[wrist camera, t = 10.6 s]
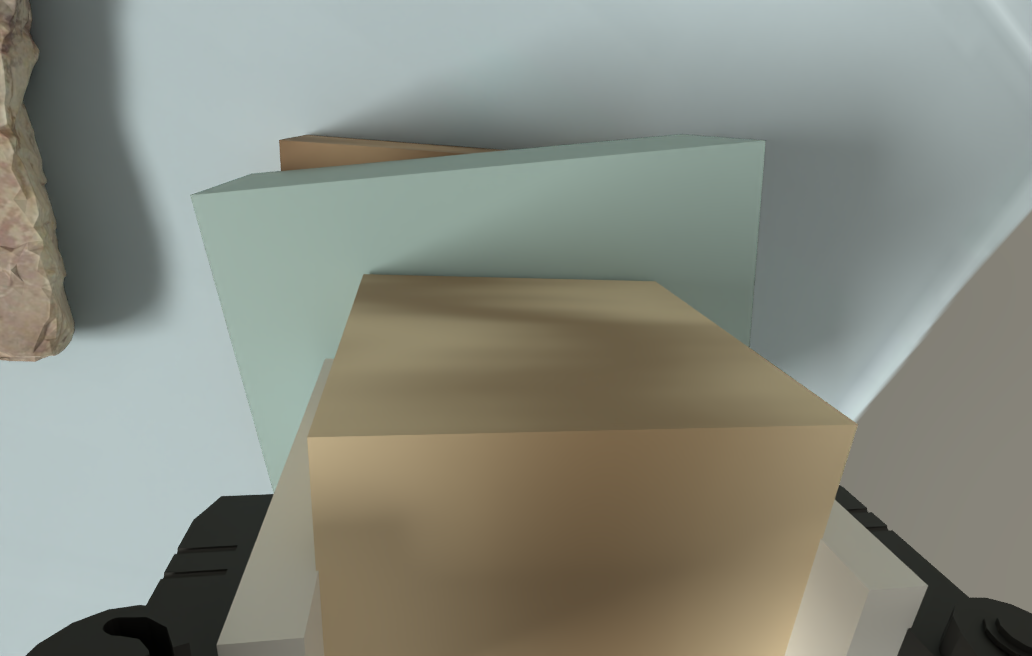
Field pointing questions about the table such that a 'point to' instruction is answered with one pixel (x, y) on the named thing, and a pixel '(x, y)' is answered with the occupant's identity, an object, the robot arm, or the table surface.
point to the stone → (26, 211)
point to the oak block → (561, 475)
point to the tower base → (357, 151)
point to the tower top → (470, 242)
